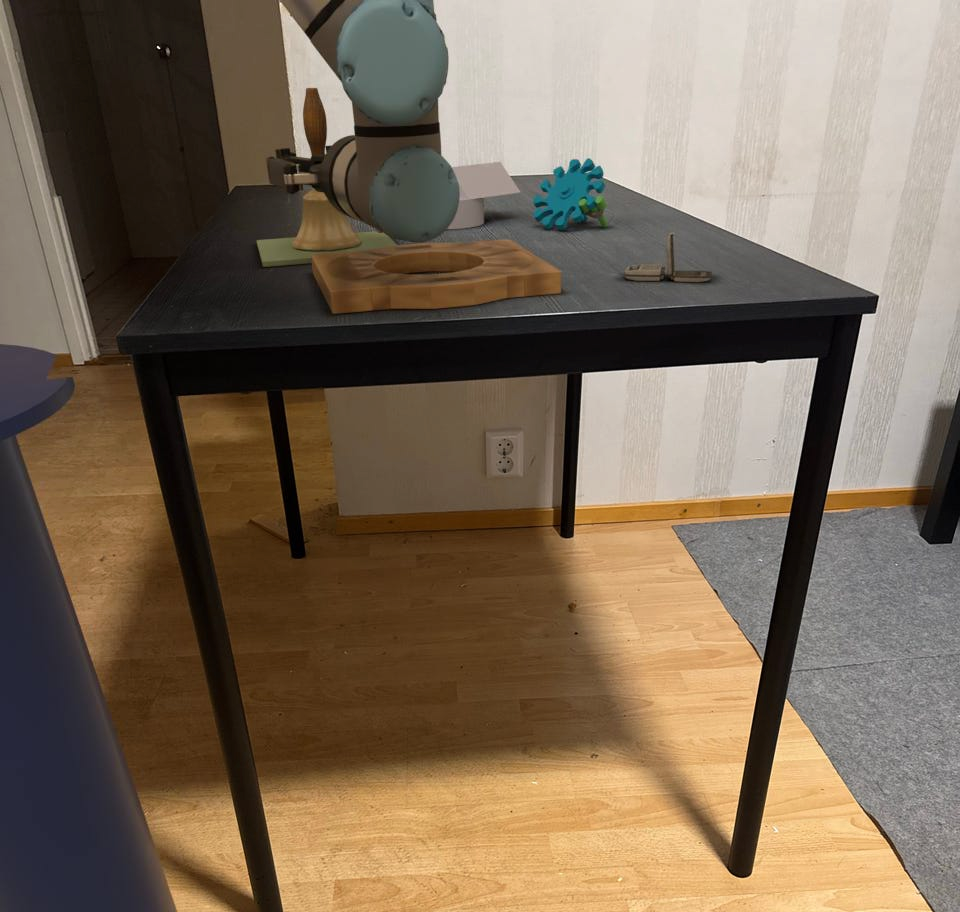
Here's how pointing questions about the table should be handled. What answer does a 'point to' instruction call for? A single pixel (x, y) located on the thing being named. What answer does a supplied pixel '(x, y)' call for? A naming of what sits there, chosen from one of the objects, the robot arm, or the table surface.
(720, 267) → the table surface
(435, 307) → the socket board
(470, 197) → the wedge on round base
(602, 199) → the gear
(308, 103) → the hand bell
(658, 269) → the strap clip
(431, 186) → the robot arm
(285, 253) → the mat
